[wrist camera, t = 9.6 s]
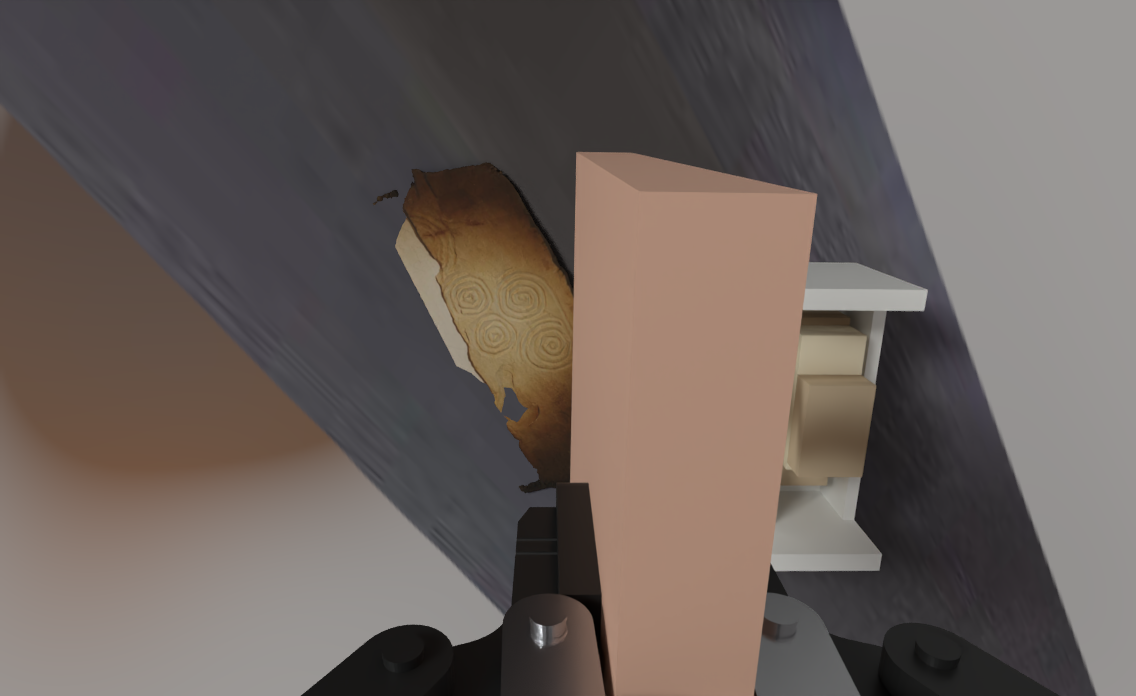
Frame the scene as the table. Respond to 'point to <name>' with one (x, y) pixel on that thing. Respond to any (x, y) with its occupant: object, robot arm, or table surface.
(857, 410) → the offcut small
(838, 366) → the offcut mid
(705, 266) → the board
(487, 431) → the table surface
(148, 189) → the table surface
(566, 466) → the parchment
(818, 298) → the rack
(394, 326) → the table surface
